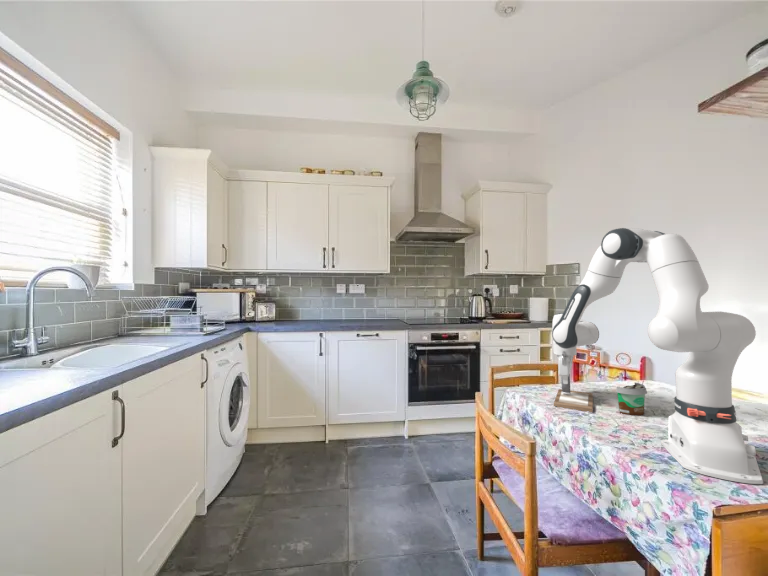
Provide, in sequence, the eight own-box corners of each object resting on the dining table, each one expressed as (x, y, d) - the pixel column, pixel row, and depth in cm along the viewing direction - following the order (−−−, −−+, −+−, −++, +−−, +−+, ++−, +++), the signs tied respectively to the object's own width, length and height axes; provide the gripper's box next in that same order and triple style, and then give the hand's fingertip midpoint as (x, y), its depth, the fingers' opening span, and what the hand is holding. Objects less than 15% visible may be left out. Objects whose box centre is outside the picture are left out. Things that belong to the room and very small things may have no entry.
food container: (635, 419, 112) (634, 391, 113) (617, 413, 118) (615, 386, 118) (655, 413, 117) (654, 386, 118) (636, 408, 123) (635, 382, 123)
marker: (570, 394, 135) (569, 366, 135) (561, 393, 137) (560, 365, 137) (571, 392, 138) (569, 364, 138) (562, 391, 140) (560, 363, 140)
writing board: (592, 412, 120) (592, 408, 120) (553, 406, 127) (553, 403, 127) (592, 395, 138) (592, 392, 138) (558, 391, 146) (558, 388, 146)
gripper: (571, 354, 127) (573, 389, 127) (574, 346, 144) (575, 377, 144) (553, 353, 131) (555, 387, 130) (558, 345, 148) (559, 375, 147)
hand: (565, 382), depth 137 cm, fingers closed on marker, 3 cm apart
